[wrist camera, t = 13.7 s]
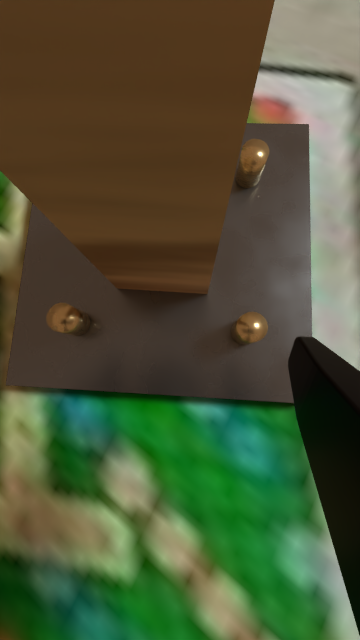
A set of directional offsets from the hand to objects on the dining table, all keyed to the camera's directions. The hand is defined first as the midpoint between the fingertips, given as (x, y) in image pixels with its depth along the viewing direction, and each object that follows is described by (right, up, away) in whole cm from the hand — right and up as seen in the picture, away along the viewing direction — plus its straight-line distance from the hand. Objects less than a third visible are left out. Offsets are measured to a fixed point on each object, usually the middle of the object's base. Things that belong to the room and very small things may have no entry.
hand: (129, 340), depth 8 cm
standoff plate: (+1, +4, +9) cm, 10 cm away
